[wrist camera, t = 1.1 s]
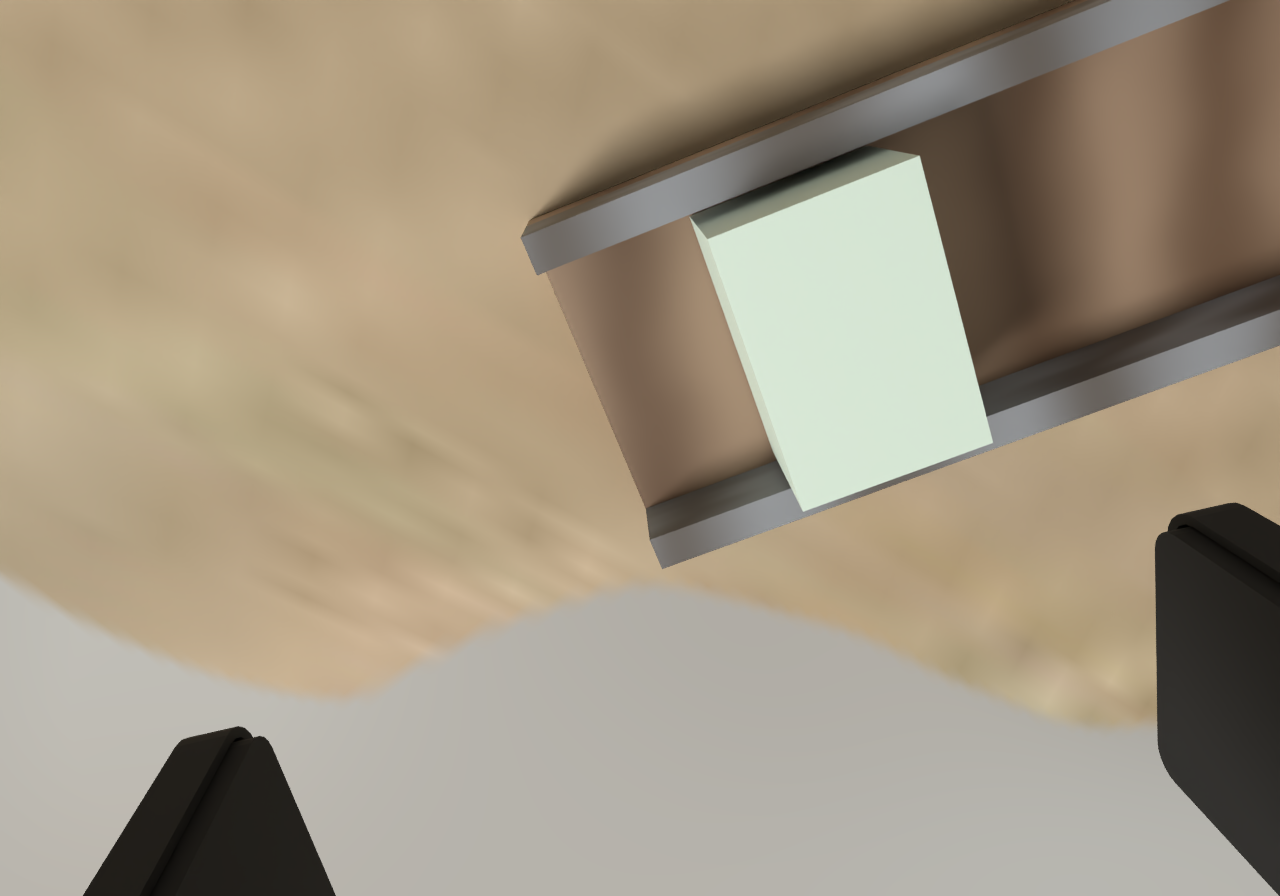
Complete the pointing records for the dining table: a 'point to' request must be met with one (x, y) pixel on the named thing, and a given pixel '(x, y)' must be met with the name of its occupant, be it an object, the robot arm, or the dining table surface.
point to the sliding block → (846, 323)
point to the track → (961, 242)
